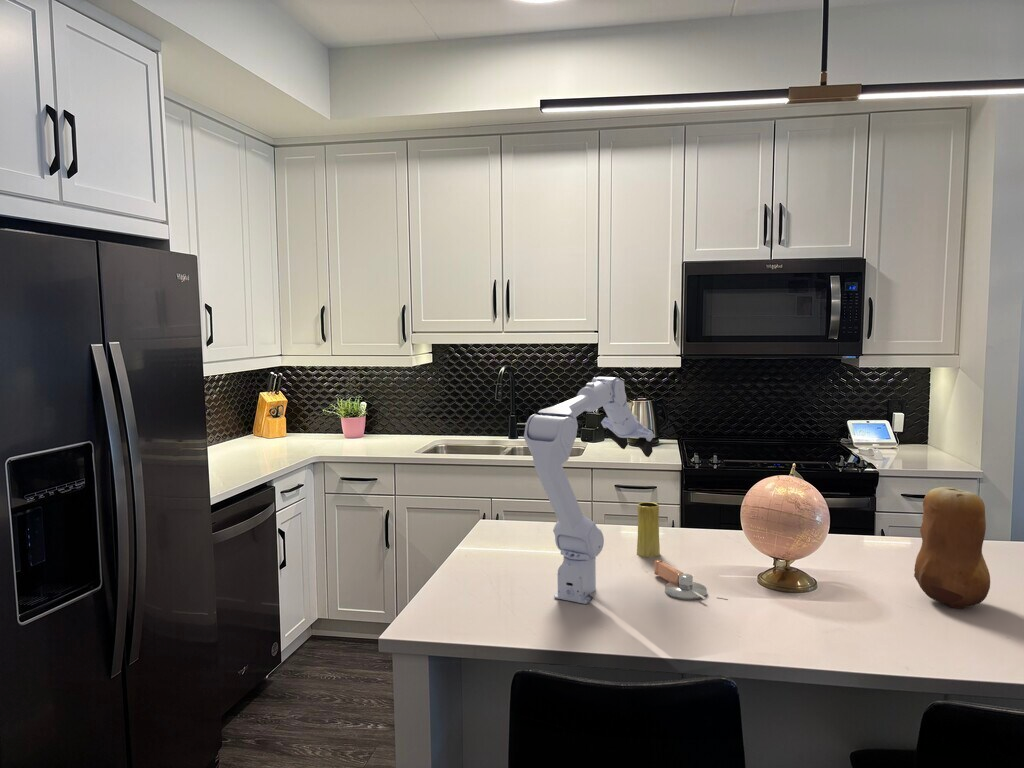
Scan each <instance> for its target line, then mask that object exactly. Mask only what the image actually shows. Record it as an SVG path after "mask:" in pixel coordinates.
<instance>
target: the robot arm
mask: <svg viewBox="0 0 1024 768" xmlns="http://www.w3.org/2000/svg"><path fill="white" fill-rule="evenodd" d="M625 387H626V386H625V382H624V380H621V379H620V378H619V377H618V376H616V377H613V376H594V377H593V378H592V380H591V382H587V383H586V384H585V386H584V387H582V388H581V389H579V391H578V392H577V395H576V396H575V397H573V398H570V399H568V400H565V401H563V402H560V403H558V404H556V405H552V406H549V407H545V408H543V409H540V410H539V411H537V413H538V414H537V413H534V414H532V415H530V416H529V417H528V419H527V421H526V423H525V427H524V433H523V439H524V442H525V443H526V446H527V448H528V449H529V452H530V455H531V456H532V460H533V464H534V465H533V467H534V469H535V471H536V474H537V475H538V478H539V480H540V483H541V485H542V488H543V489H544V491H545V494H546V497H547V498H548V500H549V503H550V505H551V508H552V509H553V511H554V514H555V516H556V518H557V521H556V523H555V524H554V527H553V535H554V541H555V545H556V547H557V549H558V550H559V551H560V555H561V556H563V559H562V563H561V565H560V566H559V567H558V570H557V593H555V595H554V596H553V597H554V599H558V600H564V601H569V602H573V603H574V602H575V603H577V604H578V603H579V604H584V605H587V604H589V602H591V600H592V599H593V598H594V597H593V596H592V595H591V593H593V592H595V591H596V588H597V587H596V586H597V584H596V583H597V576H596V575H597V574H596V573H597V572H596V571H597V569H596V565H597V564H596V560H597V559H596V557H598V556H599V555H600V553H601V552H602V551H603V548H604V543H605V539H604V534H603V532H602V529H600V528H599V527H597V524H596V522H594V521H593V520H592V519H589V518H588V517H587V516H585V515H584V514H583V512H582V510H581V507H580V505H579V502H578V499H577V497H576V495H575V492H574V490H573V488H572V486H571V483H570V481H569V479H568V476H567V474H566V472H565V471H566V470H565V469H564V467H563V465H562V464H564V463H565V462H567V461H569V459H570V455H571V453H572V450H573V447H574V444H575V441H576V438H577V435H578V434H577V433H578V429H579V425H578V420H577V417H578V416H579V415H581V414H582V413H584V412H587V413H589V412H591V413H592V412H594V411H596V410H598V409H600V408H602V407H603V408H602V409H603V410H604V412H605V414H606V416H607V417H604V418H603V419H602V420H601V422H600V424H601V425H602V427H603V428H604V429H606V431H605V433H604V436H606V438H609V439H611V440H612V441H613V442H614V443H615V444H617V445H618V447H620V448H621V449H623V450H625V449H626V447H627V446H628V445H629V440H628V438H629V439H631V438H634V439H635V438H637V440H636V441H635V442H634V445H635V446H636V447H638V448H639V449H640V450H641V452H642V453H643V455H644V456H645V457H647V458H650V457H651V455H652V453H653V452H654V451H653V440H654V439H653V438H654V437H655V431H654V430H653V429H652V428H648V427H646V426H644V425H643V424H642V423H641V422H639V421H638V415H635V414H633V412H632V410H631V407H630V405H629V404H628V401H627V394H626V390H625V389H626V388H625Z"/></svg>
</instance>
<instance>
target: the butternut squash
mask: <svg viewBox="0 0 1024 768" xmlns="http://www.w3.org/2000/svg"><path fill="white" fill-rule="evenodd" d="M922 509H923V510H922V511H923V514H922V515H923V516H922V523H921V526H920V528H919V532H920V536H921V541H922V542H921V546H920V548H919V552H918V553H917V556H916V558H915V564H914V568H913V569H914V574H913V577H914V578H915V580H916V582H917V583H918V586H919V587H920V589H921V590H922V592H924V594H925V595H926V596H927V597H929V598H930V599H932V600H934V601H936V602H939V603H942V604H944V605H945V606H947V607H948V608H955V609H960V610H962V609H964V608H967V607H968V608H969V607H974V606H977V605H980V604H981V603H982V602H984V600H986V598H987V596H988V594H989V592H990V589H991V575H990V571H989V568H988V565H987V563H986V560H985V558H984V555H983V545H984V541H985V535H986V526H987V525H986V524H987V523H986V506H985V503H984V501H983V499H982V498H981V497H980V496H979V495H978V494H977V493H974V492H971V491H967V490H963V489H959V488H956V487H951V486H941V487H935V488H932V489H930V490H929V491H928V492H926V494H925V496H924V498H923V501H922Z"/></svg>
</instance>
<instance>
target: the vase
mask: <svg viewBox="0 0 1024 768" xmlns="http://www.w3.org/2000/svg"><path fill="white" fill-rule="evenodd" d="M659 508H660V507H659V504H658V503H656V502H653V501H651V502H650V501H642V502H639V503H637V540H636V542H637V545H636V556H637V555H638V556H639V557H642V558H656V557H659V556H660V554H661V553H660V548H661V547H660V524H659V523H660V522H659V521H660V519H659V518H660V517H659V515H660V514H659Z"/></svg>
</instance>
